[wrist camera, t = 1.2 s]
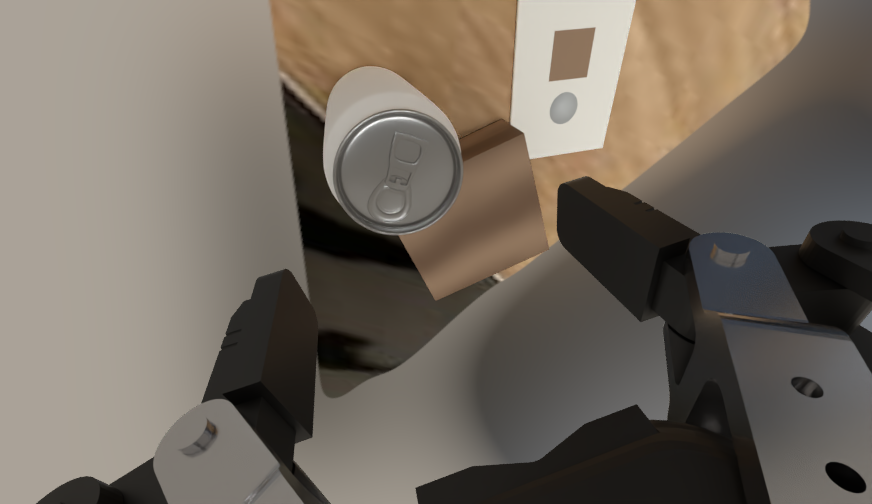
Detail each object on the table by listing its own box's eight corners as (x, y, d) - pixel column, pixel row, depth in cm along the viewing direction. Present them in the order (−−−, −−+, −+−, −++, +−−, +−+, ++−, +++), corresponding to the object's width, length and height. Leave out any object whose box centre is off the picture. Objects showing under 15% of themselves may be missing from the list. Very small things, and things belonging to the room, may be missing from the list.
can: (318, 147, 24) (308, 229, 15) (337, 48, 21) (340, 69, 12) (403, 170, 27) (442, 253, 17) (430, 85, 24) (496, 128, 14)
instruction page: (518, -20, 22) (520, -20, 21) (640, -27, 23) (642, -28, 23) (507, 161, 28) (508, 162, 28) (601, 147, 30) (602, 147, 30)
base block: (374, 179, 27) (379, 201, 23) (502, 118, 26) (524, 133, 23) (426, 273, 33) (435, 300, 30) (529, 226, 33) (549, 249, 29)
